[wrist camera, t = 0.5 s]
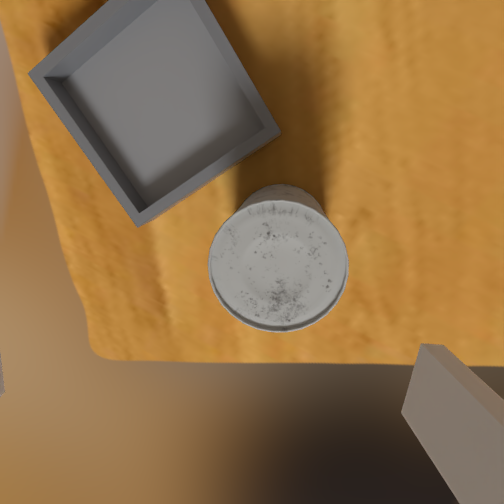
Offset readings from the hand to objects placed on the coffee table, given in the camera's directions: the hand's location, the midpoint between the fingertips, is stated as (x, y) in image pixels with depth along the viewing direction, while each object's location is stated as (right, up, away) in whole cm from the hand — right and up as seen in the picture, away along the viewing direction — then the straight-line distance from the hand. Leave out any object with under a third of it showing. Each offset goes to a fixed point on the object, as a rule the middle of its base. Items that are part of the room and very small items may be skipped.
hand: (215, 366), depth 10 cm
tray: (-7, +17, +21) cm, 29 cm away
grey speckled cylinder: (+4, +6, +24) cm, 25 cm away
